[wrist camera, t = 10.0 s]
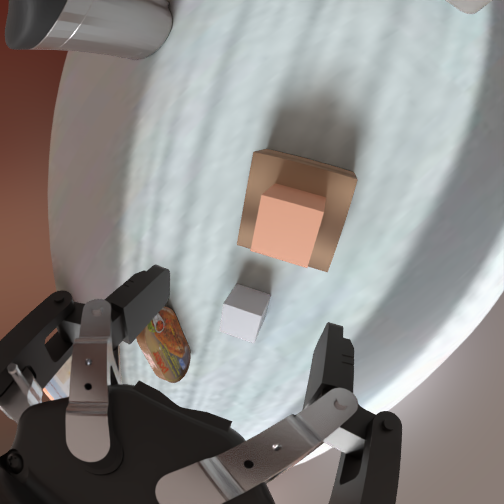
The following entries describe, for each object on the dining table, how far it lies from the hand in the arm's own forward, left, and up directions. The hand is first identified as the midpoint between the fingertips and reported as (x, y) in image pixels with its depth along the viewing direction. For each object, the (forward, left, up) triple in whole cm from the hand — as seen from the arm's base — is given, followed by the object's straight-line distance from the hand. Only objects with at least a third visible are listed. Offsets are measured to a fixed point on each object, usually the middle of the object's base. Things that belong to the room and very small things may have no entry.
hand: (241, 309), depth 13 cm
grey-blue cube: (+16, -3, -21) cm, 26 cm away
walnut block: (0, 0, -21) cm, 21 cm away
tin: (+28, -15, -21) cm, 38 cm away
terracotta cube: (0, 0, -16) cm, 16 cm away
